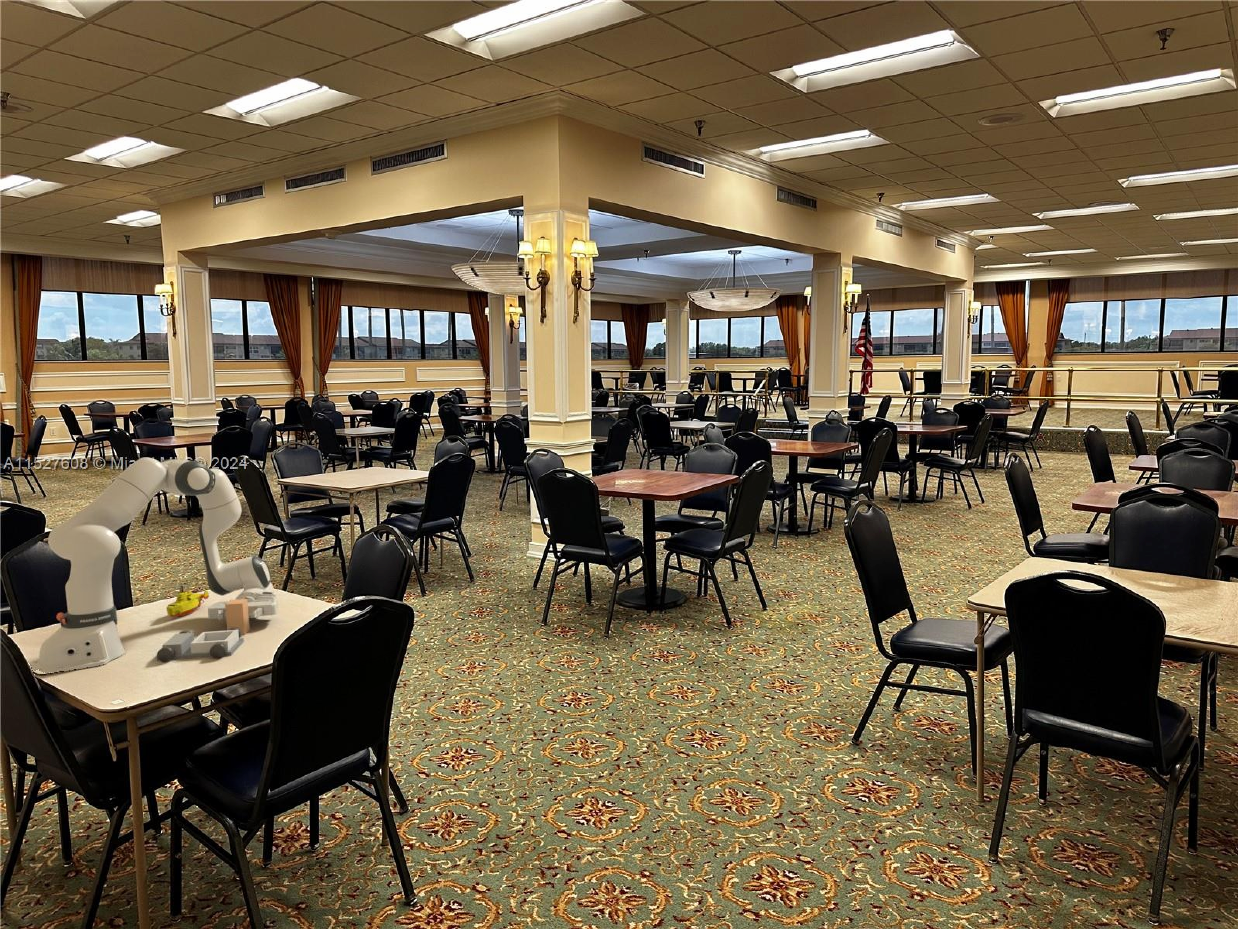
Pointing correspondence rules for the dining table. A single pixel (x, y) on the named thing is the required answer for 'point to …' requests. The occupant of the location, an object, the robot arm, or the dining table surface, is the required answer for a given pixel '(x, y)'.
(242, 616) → the block
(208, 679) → the dining table surface
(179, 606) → the toy boat
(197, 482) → the robot arm
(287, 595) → the dining table surface
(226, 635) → the chassis
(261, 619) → the dining table surface
